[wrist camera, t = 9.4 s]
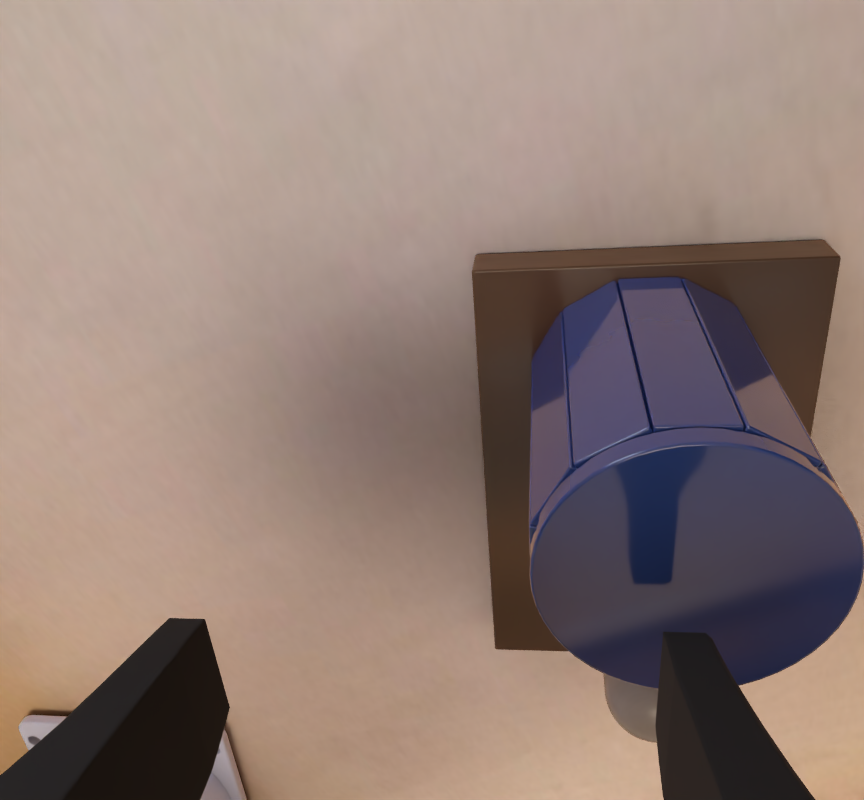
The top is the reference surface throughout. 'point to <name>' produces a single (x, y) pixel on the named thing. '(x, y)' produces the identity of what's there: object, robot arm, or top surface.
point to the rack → (525, 330)
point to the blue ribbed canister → (678, 490)
